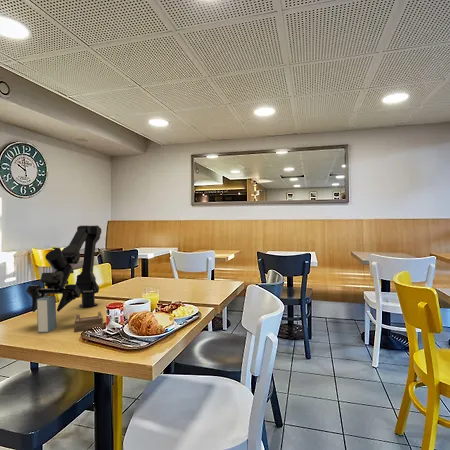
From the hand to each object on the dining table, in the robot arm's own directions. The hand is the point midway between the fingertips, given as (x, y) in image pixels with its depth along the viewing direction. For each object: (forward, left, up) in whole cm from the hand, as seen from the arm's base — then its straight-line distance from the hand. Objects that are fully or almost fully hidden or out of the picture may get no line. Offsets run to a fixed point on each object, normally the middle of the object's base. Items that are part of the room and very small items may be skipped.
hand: (45, 311), depth 114 cm
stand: (+5, +14, -7) cm, 16 cm away
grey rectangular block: (-1, +1, -7) cm, 7 cm away
